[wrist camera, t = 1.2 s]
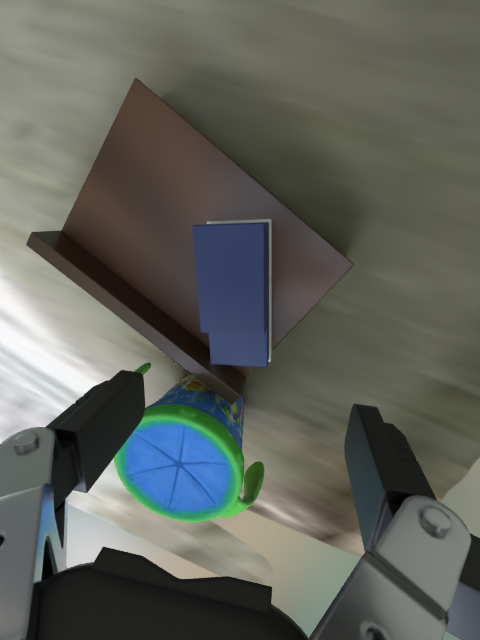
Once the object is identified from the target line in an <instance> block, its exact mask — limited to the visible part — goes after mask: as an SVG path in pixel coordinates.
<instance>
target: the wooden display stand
mask: <svg viewBox="0 0 480 640" xmlns="http://www.w3.org/2000/svg"><path fill="white" fill-rule="evenodd" d="M259 219H271V220H272V350H273V349H274V348H275V347H276V346H277V345H278V344H279V343H280V342H281V341H282V340H283V338H284V337H285V336H286V335H287V334H288V333H289V332H290V331H291V330H292V329H293V328H294V327H295V326H296V325H297V324H298V323H299V322H300V321H301V320H302V319H303V318H304V317H305V315H306V314H307V313H308V312H309V311H310V310H311V309H312V308H313V307H314V306H315V305H316V304H317V303H318V302H319V301H320V300H321V299H322V298H323V297H324V296H325V295H326V294H327V293H328V291H329V290H330V289H331V288H332V287H333V286H334V285H335V284H336V283H337V282H338V281H339V280H340V279H341V278H342V277H343V276H344V275H345V274H346V273H347V272H348V271H349V270H350V268H351V267H352V266H353V265H354V264H353V263H352V262H351V261H350V260H349V259H347V258H346V257H345V256H344V255H343V254H342V253H340V252H339V251H338V250H337V249H336V248H335V247H333V246H332V245H331V244H330V243H329V242H328V241H326V240H325V239H324V238H323V237H322V236H321V235H319V234H318V233H317V232H316V231H315V230H314V229H312V228H311V227H310V226H309V225H308V224H307V223H305V222H304V221H303V220H302V219H301V218H300V217H298V216H297V215H296V214H295V213H294V212H293V211H291V210H290V209H289V208H288V207H287V206H285V205H284V204H283V203H282V202H281V201H280V200H278V199H277V198H276V197H275V196H274V195H273V194H271V193H270V192H269V191H268V190H267V189H266V188H264V187H263V186H262V185H261V184H260V183H259V182H257V181H256V180H255V179H254V178H253V177H252V176H250V175H249V174H248V173H247V172H246V171H245V170H243V169H242V168H241V167H240V166H239V165H238V164H236V163H235V162H234V161H233V160H232V159H231V158H229V157H228V156H227V155H226V154H225V153H224V152H222V151H221V150H220V149H219V148H218V147H217V146H215V145H214V144H213V143H212V142H211V141H210V140H208V139H207V138H206V137H205V136H204V135H203V134H201V133H200V132H199V131H198V130H197V129H196V128H194V127H193V126H192V125H191V124H190V123H189V122H187V121H186V120H185V119H184V118H183V117H182V116H180V115H179V114H178V113H177V112H176V111H175V110H173V109H172V108H171V107H170V106H169V105H168V104H166V103H165V102H164V101H163V100H162V99H161V98H159V97H158V96H157V95H156V94H155V93H154V92H152V91H151V90H150V89H149V88H148V87H147V86H145V85H144V84H143V83H142V82H141V81H140V80H138V79H137V78H135V79H134V81H133V83H132V85H131V88H130V90H129V92H128V94H127V96H126V98H125V100H124V102H123V104H122V106H121V108H120V110H119V112H118V114H117V117H116V119H115V121H114V123H113V125H112V127H111V129H110V131H109V133H108V135H107V137H106V139H105V141H104V144H103V146H102V148H101V150H100V152H99V154H98V156H97V158H96V160H95V162H94V164H93V166H92V168H91V170H90V173H89V175H88V177H87V179H86V181H85V183H84V185H83V187H82V189H81V191H80V193H79V195H78V197H77V200H76V202H75V204H74V206H73V208H72V210H71V212H70V214H69V216H68V218H67V220H66V222H65V224H64V226H63V229H62V231H44V232H31V235H30V237H29V239H28V241H27V244H26V245H27V246H28V247H30V248H31V249H32V250H33V251H35V252H36V253H37V254H39V255H40V256H41V257H42V258H44V259H45V260H46V261H48V262H49V263H50V264H51V265H53V266H54V267H55V268H56V269H58V270H59V271H60V272H62V273H63V274H64V275H65V276H67V277H68V278H69V279H71V280H72V281H73V282H74V283H76V284H77V285H78V286H80V287H81V288H82V289H83V290H85V291H86V292H87V293H89V294H90V295H91V296H92V297H94V298H95V299H96V300H98V301H99V302H100V303H101V304H103V305H104V306H105V307H106V308H108V309H109V310H110V311H112V312H113V313H114V314H115V315H117V316H118V317H119V318H121V319H122V320H123V321H124V322H126V323H127V324H128V325H130V326H131V327H132V328H133V329H135V330H136V331H137V332H139V333H140V334H141V335H142V336H144V337H145V338H146V339H148V340H149V341H150V342H151V343H153V344H154V345H155V346H157V347H158V348H159V349H160V350H162V351H163V352H164V353H165V354H167V355H168V356H169V357H171V358H172V359H173V360H174V361H176V362H177V363H178V364H180V365H181V366H182V367H183V368H185V369H186V370H187V371H189V372H190V373H191V374H192V375H194V376H195V377H196V378H198V379H199V380H200V381H201V382H203V383H204V384H205V385H207V386H208V387H209V388H210V389H212V390H213V391H214V392H215V393H217V394H218V395H219V396H221V397H222V398H223V399H224V400H226V401H227V402H228V403H230V404H231V405H233V404H234V403H235V402H236V401H237V400H238V399H239V397H240V396H241V393H242V390H243V387H244V383H245V380H246V377H247V376H248V375H249V374H250V373H251V372H252V371H253V370H254V369H255V368H256V367H257V366H237V365H218V364H211V361H210V347H209V333H201V330H200V318H199V305H198V293H197V280H196V268H195V255H194V243H193V231H192V226H193V225H204V224H207V221H230V220H259Z"/></svg>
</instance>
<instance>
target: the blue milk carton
mask: <svg viewBox="0 0 480 640" xmlns="http://www.w3.org/2000/svg"><path fill="white" fill-rule="evenodd" d="M192 231H193V243H194V255H195V268H196V280H197V293H198V305H199V318H200V330H201V333H209V347H210V361H211V364H218V365H237V366H257V367H267V366H268V362H271V356H272V220H271V219H259V220H230V221H207V224H204V225H193V226H192Z"/></svg>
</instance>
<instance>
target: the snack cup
mask: <svg viewBox="0 0 480 640" xmlns="http://www.w3.org/2000/svg"><path fill="white" fill-rule="evenodd" d="M150 367H151V363H146V364H144V365H142V366H141V367H139V368H138V369H136V370H135V371H134V372H139V373H142V375H144V374H145V373H146V372H147V371H148V369H149V368H150ZM243 412H244V406H243V397H242V395H241V396H240V397H239V399H238V400H237V401H236V402H235V403H234V404H233V405H231V404H230V403H228V402H227V401H226V400H224V399H223V398H222V397H221V396H219V395H218V394H217V393H215V392H214V391H213V390H212V389H210V388H209V387H208V386H207V385H205V384H204V383H203V382H201V381H200V380H199V379H198V378H196V377H195V376H194V375H192V374H190V375H188V376H186V377H185V378H183V379H182V380H181V381H180V382H179V383H178V384H176V385H175V386H174V387H173V388H172V389H171V390H170V391H168V392H167V393H166V394H165V395H164V396H163V397H162V398H161V399H159V400H158V401H157V402H155V403H154V404H152V405H150V406H148V407H146V408H145V412H144V416H143V418H142V420H141V422H140V424H139V425H138V426H137V428H136V429H135V430H134V432H133V433H132V434H131V436H130V437H129V438H128V439H127V441H126V442H125V443H124V445H123V446H122V447H121V449H120V450H119V451H118V453H117V454H116V455H115V457H114V462H115V467H116V470H117V472H118V475H119V477H120V479H121V481H122V483H123V484H124V486H125V487H126V489H127V490H128V491H129V492H130V493H131V495H132V496H133V497H134V498H135V499H136V500H138V501H139V502H140V503H141V504H143V505H144V506H145V507H147V508H148V509H150V510H152V511H154V512H155V513H157V514H160V515H162V516H165V517H167V518H170V519H174V520H178V521H186V522H202V521H207V520H211V519H213V518H216V517H230V516H233V515H236V514H238V513H239V512H241V511H243V510H245V509H246V508H247V507H249V506H250V505H251V504H252V503H253V502H254V501H255V500H256V498H257V496H258V494H259V491H260V488H261V485H262V482H263V478H264V465H263V463H262V462H255V463H253V464H252V465H251V466H250V467H249V468H248V470H247V471H246V473H245V476H244V456H243V454H242V435H243V418H244V416H243ZM243 477H244V492H245V495H244V497H243V499H242V500H241V498H240V497H239V494H240V491H241V487H242V483H243Z"/></svg>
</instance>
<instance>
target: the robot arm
mask: <svg viewBox="0 0 480 640" xmlns="http://www.w3.org/2000/svg"><path fill="white" fill-rule="evenodd" d="M144 412H145V395H144V379H143V375H142V373H139V372H132V371H125V370H121V371H120V372H119V373H117V374H116V375H115V376H114V377H113V378H112V379H111V380H109V381H105V382H103V383H101V384H98V385H96V386H94V387H93V388H91V389H90V390H89V391H88V392H87V393H85V394H84V396H83V397H81V398H80V399H78V400H77V401H76V403H75V404H72V405H71V406H70V407H69V408H68V409H66V410H65V411H64V412H63V413H62V414H60V415H59V416H58V417H57V418H56V419H54V420H53V421H52V422H51V423H50V424H48V425H47V426H46V427H45V428H44V427H36V428H30V429H26V430H23V431H20V432H18V433H16V434H14V435H12V436H10V437H9V438H7V439H6V440H5V441H3V442H2V443H1V444H0V640H443V638H444V634H445V631H447V632H449V633H451V634H453V635H454V636H456V637H458V638H459V639H461V640H480V538H478V537H476V536H474V535H472V534H470V533H469V531H468V529H467V527H466V525H465V524H464V522H463V521H462V520H461V519H460V517H459V516H457V514H456V513H454V512H453V511H452V510H451V509H450V508H448V507H447V506H445V505H444V504H442V503H441V502H439V501H437V499H436V497H435V495H434V493H433V491H432V489H431V487H430V485H429V483H428V481H427V479H426V477H425V475H424V473H423V471H422V469H421V467H420V465H419V463H418V461H416V457H415V455H414V453H413V451H412V450H411V448H410V446H409V444H408V442H407V440H406V438H405V436H404V435H403V434H402V433H401V432H400V431H399V430H398V429H397V428H396V427H395V426H394V425H393V424H389V423H384V421H383V419H382V417H381V415H380V412H379V410H378V408H377V407H373V406H366V405H359V404H354V405H353V406H352V410H351V414H350V419H349V424H348V428H347V433H346V438H345V448H344V450H345V460H346V464H347V469H348V474H349V479H350V483H351V488H352V493H353V498H354V502H355V507H356V512H357V517H358V521H359V526H360V531H361V536H362V540H363V545H364V550H365V553H364V555H363V556H362V557H361V559H360V560H359V562H358V563H357V565H356V566H355V568H354V570H353V571H352V573H351V574H350V576H349V577H348V579H347V580H346V582H345V583H344V585H343V586H342V588H341V590H340V591H339V593H338V594H337V596H336V597H335V599H334V600H333V602H332V603H331V605H330V606H329V608H328V609H327V611H326V613H325V614H324V616H323V617H322V619H321V620H320V622H319V623H318V625H317V626H316V628H315V630H314V631H313V633H312V634H311V636H310V637H309V638H308V637H307V635H306V634H305V633H304V632H303V630H302V629H301V628H300V627H299V626H298V625H297V624H296V623H295V622H294V621H293V620H292V619H291V618H290V617H289V616H287V615H286V614H285V613H283V612H282V611H281V610H280V609H278V608H277V607H275V606H273V605H272V604H271V596H272V587H270V586H266V585H262V584H258V583H253V582H249V581H245V580H241V579H237V578H232V577H228V576H226V577H211V578H198V579H178V578H176V577H175V576H173V575H172V574H170V573H168V572H167V571H165V570H163V569H162V568H160V567H159V566H157V565H156V564H154V563H152V562H151V561H149V560H148V559H146V558H145V557H143V556H140V555H136V554H132V553H128V552H124V551H119V550H115V549H111V548H107V547H103V548H102V550H101V552H100V553H99V555H98V556H97V558H96V560H95V562H91V563H86V564H80V565H77V566H74V567H71V568H68V569H67V567H66V543H67V511H68V503H67V497H68V495H69V494H70V493H71V492H72V490H75V491H79V492H84V493H87V492H88V491H89V490H90V488H91V487H92V486H93V484H94V483H95V482H96V480H97V479H98V478H99V476H100V475H101V474H102V473H103V471H104V470H105V469H106V467H107V466H108V465H109V463H110V462H111V461H112V459H113V458H114V457H115V455H116V454H117V453H118V451H119V450H120V449H121V447H122V446H123V445H124V443H125V442H126V441H127V439H128V438H129V437H130V436H131V434H132V433H133V432H134V430H135V429H136V428H137V426H138V425H139V424H140V422H141V420H142V418H143V416H144Z"/></svg>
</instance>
